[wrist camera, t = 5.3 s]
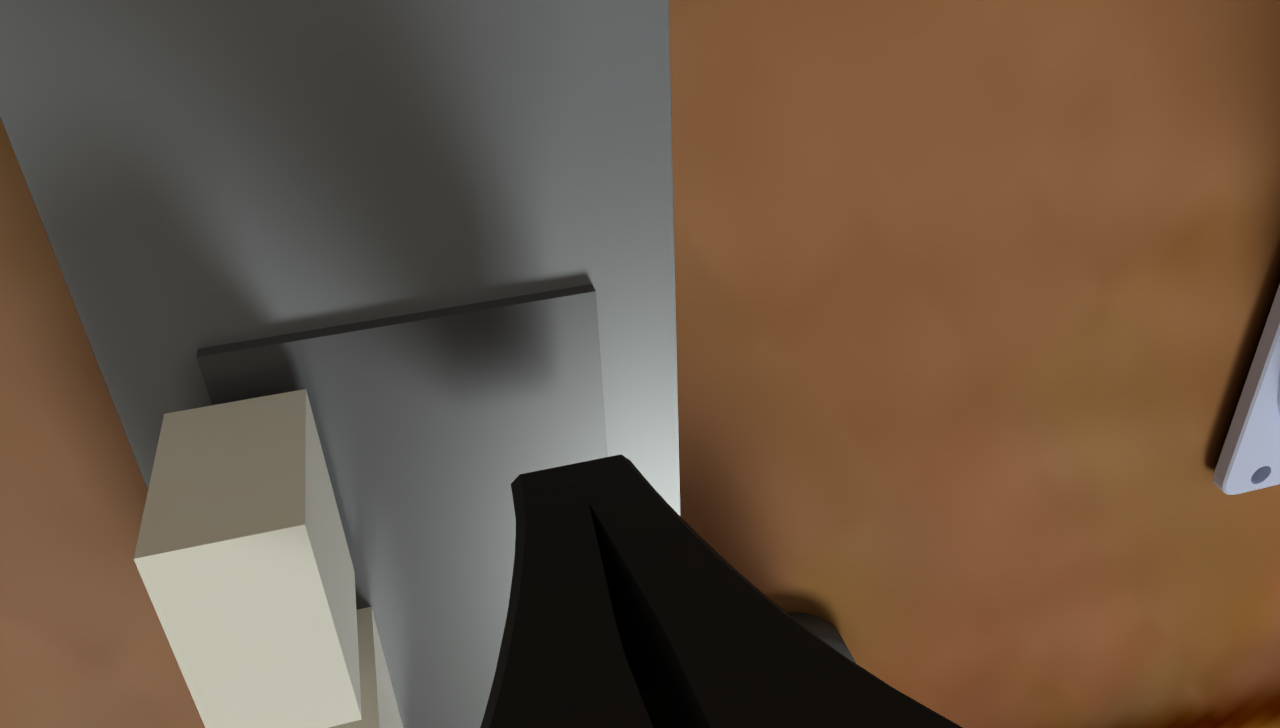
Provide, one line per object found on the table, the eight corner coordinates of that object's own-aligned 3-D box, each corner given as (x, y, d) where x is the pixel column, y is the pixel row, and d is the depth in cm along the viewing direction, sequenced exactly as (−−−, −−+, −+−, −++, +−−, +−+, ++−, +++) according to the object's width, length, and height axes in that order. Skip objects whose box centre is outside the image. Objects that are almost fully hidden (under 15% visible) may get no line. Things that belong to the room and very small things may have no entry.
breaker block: (588, -186, 13) (762, -126, 8) (634, 581, 21) (738, 861, 16) (8, -147, 12) (-220, -42, 7) (283, 661, 20) (273, 996, 14)
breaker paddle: (306, 389, 12) (304, 524, 10) (354, 571, 14) (361, 719, 12) (164, 413, 12) (133, 559, 10) (231, 597, 13) (216, 754, 11)
